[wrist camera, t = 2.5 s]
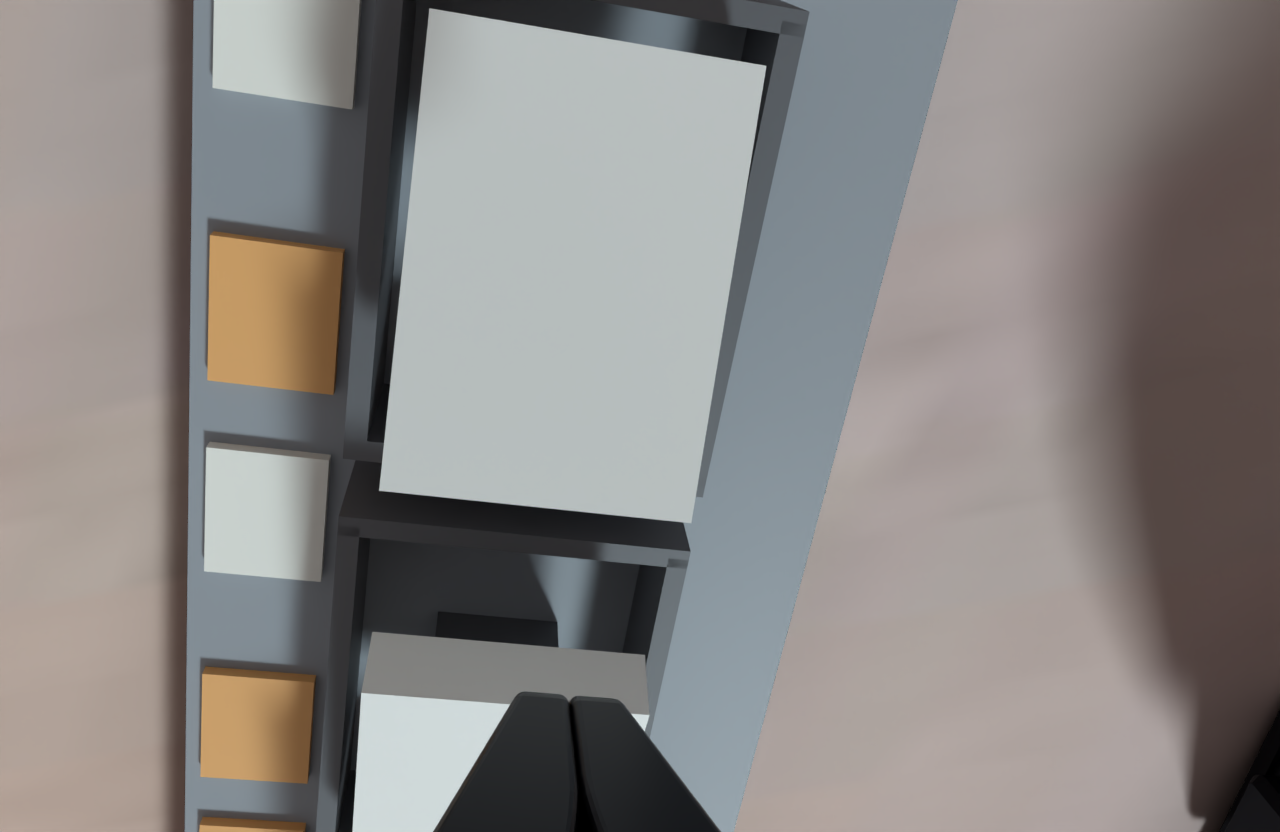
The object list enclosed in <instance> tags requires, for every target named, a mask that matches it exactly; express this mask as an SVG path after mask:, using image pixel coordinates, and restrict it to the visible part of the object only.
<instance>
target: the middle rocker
mask: <svg viewBox="0 0 1280 832" xmlns="http://www.w3.org/2000/svg"><path fill="white" fill-rule="evenodd" d="M524 691H527V692H540V693H552V694H561V695H563V696H565V697H566V698H567V700H568V702H570V700H571V699H572V698H573V697H575V696H589V697H602V698H613V699H618V700H619V701H621V702H622V703H623V704H624V705H625V706H626V708H627V709H628V710H629V712H630V713H631V714H632V716H633V717H634V718H635V719H636V721H637V722H638V723H639V725H640V726H641V727H642V729H643V730H644V731H645V729H646V725H647V722H648V719H649V715H650V714H649V701H648V689H647V676H646V663H645V655H640V654H629V653H617V652H605V651H593V650H582V649H570V648H558V647H546V646H534V645H523V644H511V643H499V642H487V641H476V640H464V639H452V638H440V637H428V636H417V635H405V634H393V633H381V632H372V636H371V642H370V647H369V653H368V658H367V664H366V670H365V675H364V681H363V686H362V692H361V705H360V721H359V736H358V752H357V767H356V783H355V799H354V814H353V830H352V832H433V831H434V829H435V828H436V826H437V824H438V823H439V821H440V819H441V818H442V816H443V814H444V813H445V811H446V809H447V808H448V806H449V804H450V803H451V801H452V799H453V798H454V796H455V795H456V793H457V791H458V790H459V788H460V786H461V785H462V783H463V781H464V780H465V778H466V776H467V775H468V773H469V771H470V770H471V768H472V766H473V765H474V763H475V762H476V760H477V758H478V757H479V755H480V753H481V752H482V750H483V748H484V747H485V745H486V743H487V742H488V740H489V738H490V737H491V735H492V733H493V732H494V730H495V729H496V727H497V725H498V724H499V722H500V720H501V719H502V717H503V715H504V714H505V712H506V710H507V709H508V707H509V705H510V704H511V702H512V701H513V699H514V697H515V696H516V695H517V694H518V693H520V692H524Z"/></svg>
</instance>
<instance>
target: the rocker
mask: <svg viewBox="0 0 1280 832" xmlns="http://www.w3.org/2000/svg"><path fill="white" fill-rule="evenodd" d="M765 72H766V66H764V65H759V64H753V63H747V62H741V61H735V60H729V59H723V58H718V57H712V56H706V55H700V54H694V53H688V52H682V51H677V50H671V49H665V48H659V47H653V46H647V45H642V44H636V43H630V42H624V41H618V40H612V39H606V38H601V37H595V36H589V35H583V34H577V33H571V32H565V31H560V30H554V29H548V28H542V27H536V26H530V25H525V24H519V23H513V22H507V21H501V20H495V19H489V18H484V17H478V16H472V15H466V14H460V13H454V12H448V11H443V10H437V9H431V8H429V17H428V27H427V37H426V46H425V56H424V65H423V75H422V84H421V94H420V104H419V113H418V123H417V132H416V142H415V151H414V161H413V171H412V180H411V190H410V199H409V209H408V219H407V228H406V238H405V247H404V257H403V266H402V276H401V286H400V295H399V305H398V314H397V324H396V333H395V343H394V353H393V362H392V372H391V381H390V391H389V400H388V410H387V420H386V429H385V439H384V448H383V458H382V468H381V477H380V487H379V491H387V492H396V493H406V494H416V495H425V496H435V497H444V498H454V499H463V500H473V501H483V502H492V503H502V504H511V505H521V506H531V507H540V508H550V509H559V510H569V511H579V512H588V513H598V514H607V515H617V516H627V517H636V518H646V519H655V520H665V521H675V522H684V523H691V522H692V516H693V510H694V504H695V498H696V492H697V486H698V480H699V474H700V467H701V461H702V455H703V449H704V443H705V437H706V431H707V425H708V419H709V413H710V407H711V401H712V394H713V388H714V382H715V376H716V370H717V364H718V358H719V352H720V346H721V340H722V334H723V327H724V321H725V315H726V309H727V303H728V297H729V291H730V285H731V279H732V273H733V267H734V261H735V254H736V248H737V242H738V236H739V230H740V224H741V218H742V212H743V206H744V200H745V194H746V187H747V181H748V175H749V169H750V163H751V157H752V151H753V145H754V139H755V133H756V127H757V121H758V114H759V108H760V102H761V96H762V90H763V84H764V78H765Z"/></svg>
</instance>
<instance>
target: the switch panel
mask: <svg viewBox="0 0 1280 832" xmlns="http://www.w3.org/2000/svg"><path fill="white" fill-rule="evenodd" d="M957 1H958V0H194V6H193V101H192V196H191V290H190V385H189V480H188V575H187V669H186V764H185V832H352V830H353V814H354V799H355V783H356V767H357V752H358V736H359V721H360V705H361V692H362V686H363V681H364V675H365V670H366V664H367V658H368V653H369V647H370V642H371V636H372V632H381V633H393V634H405V635H417V636H428V637H440V638H452V639H464V640H476V641H487V642H499V643H511V644H523V645H534V646H546V647H558V648H570V649H582V650H593V651H605V652H617V653H629V654H640V655H645V663H646V676H647V689H648V701H649V714H650V715H649V719H648V722H647V725H646V729H645V733H646V734H647V735H648V736H649V738H650V739H651V740H652V742H653V743H654V744H655V746H656V747H657V748H658V750H659V751H660V752H661V754H662V755H663V756H664V757H665V759H666V760H667V761H668V763H669V764H670V765H671V767H672V768H673V769H674V771H675V772H676V773H677V775H678V776H679V777H680V778H681V780H682V781H683V782H684V784H685V785H686V786H687V788H688V789H689V790H690V792H691V793H692V794H693V796H694V797H695V798H696V799H697V801H698V802H699V803H700V805H701V806H702V807H703V809H704V810H705V811H706V813H707V814H708V815H709V817H710V818H711V819H712V820H713V822H714V823H715V824H716V826H717V827H718V828H719V830H720V831H721V832H734V828H735V825H736V821H737V817H738V813H739V810H740V806H741V802H742V799H743V795H744V791H745V787H746V784H747V780H748V776H749V773H750V769H751V765H752V761H753V758H754V754H755V750H756V747H757V743H758V739H759V735H760V732H761V728H762V724H763V721H764V717H765V713H766V710H767V706H768V702H769V698H770V695H771V691H772V687H773V684H774V680H775V676H776V672H777V669H778V665H779V661H780V658H781V654H782V650H783V646H784V643H785V639H786V635H787V632H788V628H789V624H790V620H791V617H792V613H793V609H794V606H795V602H796V598H797V594H798V591H799V587H800V583H801V580H802V576H803V572H804V568H805V565H806V561H807V557H808V554H809V550H810V546H811V543H812V539H813V535H814V531H815V528H816V524H817V520H818V517H819V513H820V509H821V505H822V502H823V498H824V494H825V491H826V487H827V483H828V479H829V476H830V472H831V468H832V465H833V461H834V457H835V453H836V450H837V446H838V442H839V439H840V435H841V431H842V427H843V424H844V420H845V416H846V413H847V409H848V405H849V401H850V398H851V394H852V390H853V387H854V383H855V379H856V376H857V372H858V368H859V364H860V361H861V357H862V353H863V350H864V346H865V342H866V338H867V335H868V331H869V327H870V324H871V320H872V316H873V312H874V309H875V305H876V301H877V298H878V294H879V290H880V286H881V283H882V279H883V275H884V272H885V268H886V264H887V260H888V257H889V253H890V249H891V246H892V242H893V238H894V234H895V231H896V227H897V223H898V220H899V216H900V212H901V209H902V205H903V201H904V197H905V194H906V190H907V186H908V183H909V179H910V175H911V171H912V168H913V164H914V160H915V157H916V153H917V149H918V145H919V142H920V138H921V134H922V131H923V127H924V123H925V119H926V116H927V112H928V108H929V105H930V101H931V97H932V93H933V90H934V86H935V82H936V79H937V75H938V71H939V67H940V64H941V60H942V56H943V53H944V49H945V45H946V42H947V38H948V34H949V30H950V27H951V23H952V19H953V16H954V12H955V8H956V4H957ZM429 8H431V9H437V10H443V11H448V12H454V13H460V14H466V15H472V16H478V17H484V18H489V19H495V20H501V21H507V22H513V23H519V24H525V25H530V26H536V27H542V28H548V29H554V30H560V31H565V32H571V33H577V34H583V35H589V36H595V37H601V38H606V39H612V40H618V41H624V42H630V43H636V44H642V45H647V46H653V47H659V48H665V49H671V50H677V51H682V52H688V53H694V54H700V55H706V56H712V57H718V58H723V59H729V60H735V61H741V62H747V63H753V64H759V65H764V66H766V72H765V78H764V84H763V90H762V96H761V102H760V108H759V114H758V121H757V127H756V133H755V139H754V145H753V151H752V157H751V163H750V169H749V175H748V181H747V187H746V194H745V200H744V206H743V212H742V218H741V224H740V230H739V236H738V242H737V248H736V254H735V261H734V267H733V273H732V279H731V285H730V291H729V297H728V303H727V309H726V315H725V321H724V327H723V334H722V340H721V346H720V352H719V358H718V364H717V370H716V376H715V382H714V388H713V394H712V401H711V407H710V413H709V419H708V425H707V431H706V437H705V443H704V449H703V455H702V461H701V467H700V474H699V480H698V486H697V492H696V498H695V504H694V510H693V516H692V522H691V523H684V522H675V521H665V520H655V519H646V518H636V517H627V516H617V515H607V514H598V513H588V512H579V511H569V510H559V509H550V508H540V507H531V506H521V505H511V504H502V503H492V502H483V501H473V500H463V499H454V498H444V497H435V496H425V495H416V494H406V493H396V492H387V491H379V487H380V477H381V468H382V458H383V448H384V439H385V429H386V420H387V410H388V400H389V391H390V381H391V372H392V362H393V353H394V343H395V333H396V324H397V314H398V305H399V295H400V286H401V276H402V266H403V257H404V247H405V238H406V228H407V219H408V209H409V199H410V190H411V180H412V171H413V161H414V151H415V142H416V132H417V123H418V113H419V104H420V94H421V84H422V75H423V65H424V56H425V46H426V37H427V27H428V17H429Z"/></svg>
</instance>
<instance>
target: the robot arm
mask: <svg viewBox="0 0 1280 832" xmlns="http://www.w3.org/2000/svg"><path fill="white" fill-rule="evenodd" d="M433 832H721V831H720V830H719V828H718V827H717V826H716V824H715V823H714V822H713V820H712V819H711V818H710V817H709V815H708V814H707V813H706V811H705V810H704V809H703V807H702V806H701V805H700V803H699V802H698V801H697V799H696V798H695V797H694V796H693V794H692V793H691V792H690V790H689V789H688V788H687V786H686V785H685V784H684V782H683V781H682V780H681V778H680V777H679V776H678V775H677V773H676V772H675V771H674V769H673V768H672V767H671V765H670V764H669V763H668V761H667V760H666V759H665V757H664V756H663V755H662V754H661V752H660V751H659V750H658V748H657V747H656V746H655V744H654V743H653V742H652V740H651V739H650V738H649V736H648V735H647V734H646V733H645V731H644V730H643V729H642V727H641V726H640V725H639V723H638V722H637V721H636V719H635V718H634V717H633V716H632V714H631V713H630V712H629V710H628V709H627V708H626V706H625V705H624V704H623V703H622V702H621V701H619V700H618V699H613V698H602V697H589V696H575V697H573V698H572V699H571V700H570V702H568V700H567V698H566V697H565V696H563V695H561V694H552V693H540V692H527V691H524V692H520V693H518V694H517V695H516V696H515V697H514V699H513V701H512V702H511V704H510V705H509V707H508V709H507V710H506V712H505V714H504V715H503V717H502V719H501V720H500V722H499V724H498V725H497V727H496V729H495V730H494V732H493V733H492V735H491V737H490V738H489V740H488V742H487V743H486V745H485V747H484V748H483V750H482V752H481V753H480V755H479V757H478V758H477V760H476V762H475V763H474V765H473V766H472V768H471V770H470V771H469V773H468V775H467V776H466V778H465V780H464V781H463V783H462V785H461V786H460V788H459V790H458V791H457V793H456V795H455V796H454V798H453V799H452V801H451V803H450V804H449V806H448V808H447V809H446V811H445V813H444V814H443V816H442V818H441V819H440V821H439V823H438V824H437V826H436V828H435V829H434V831H433ZM1219 832H1280V711H1279V713H1278V715H1277V717H1276V719H1275V721H1274V723H1273V725H1272V727H1271V729H1270V731H1269V733H1268V735H1267V737H1266V739H1265V741H1264V743H1263V745H1262V747H1261V749H1260V751H1259V753H1258V755H1257V757H1256V759H1255V761H1254V763H1253V765H1252V767H1251V769H1250V771H1249V773H1248V775H1247V777H1246V779H1245V781H1244V783H1243V785H1242V787H1241V789H1240V791H1239V793H1238V795H1237V797H1236V799H1235V801H1234V803H1233V805H1232V807H1231V809H1230V811H1229V813H1228V815H1227V817H1226V819H1225V821H1224V823H1223V825H1222V827H1221V829H1220V831H1219Z"/></svg>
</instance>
